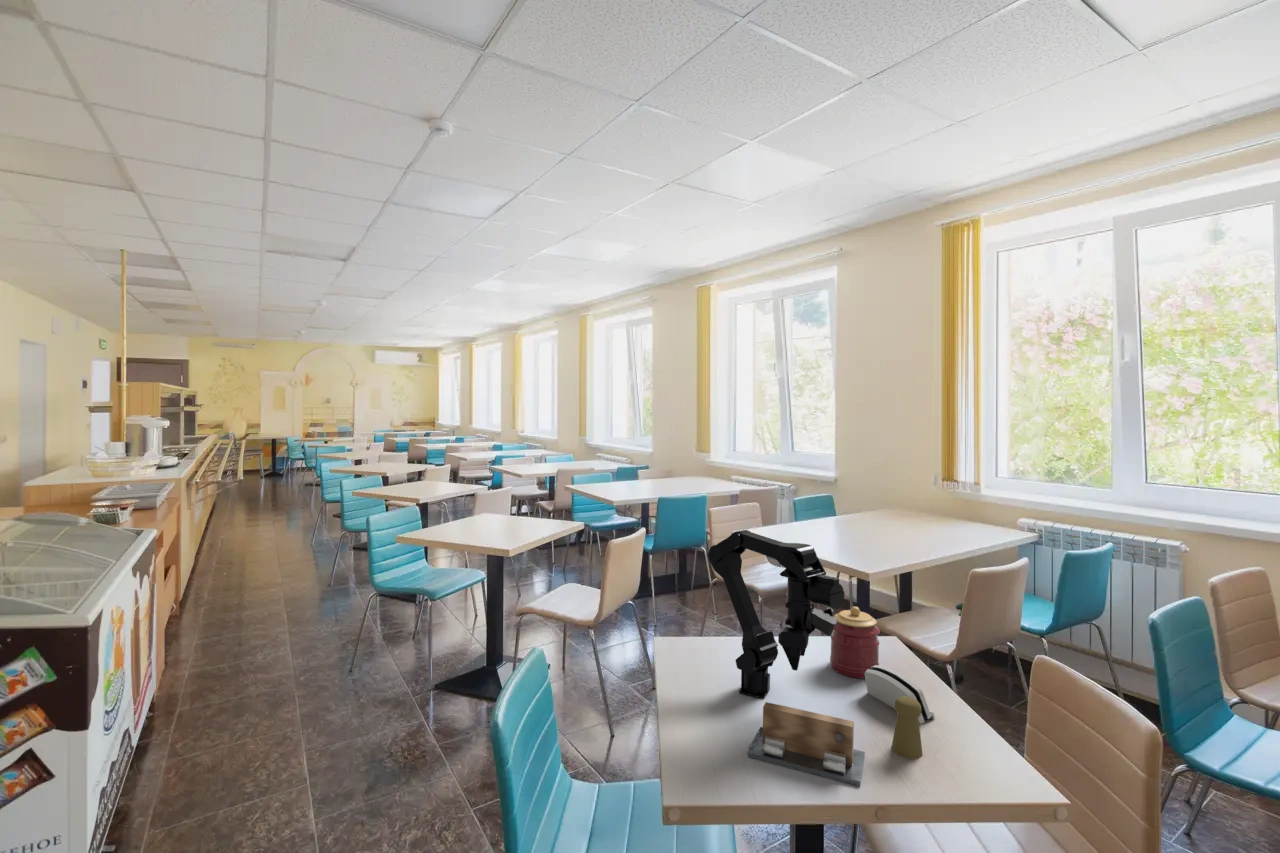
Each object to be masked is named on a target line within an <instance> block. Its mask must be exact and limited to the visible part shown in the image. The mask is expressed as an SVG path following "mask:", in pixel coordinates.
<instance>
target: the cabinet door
mask: <svg viewBox="0 0 1280 853" xmlns="http://www.w3.org/2000/svg"><path fill="white" fill-rule="evenodd" d="M854 724H855V721H853V720H851V719H849V720H848V719H845V718H839V717H836V716H831V715H827V714H823V713H818V712H812V711H809V710H804V709H799V708H795V707H790V706H787V705H786V706H785V705H782V704H776V703H773V702H767V701H766V702H765V703H764V704H763V708H762V727H763V744H765V737H766V735H767V736H771V737H775V738H779V739H783V740H785V750H788V751H792V752H796V753H800V754H804V755H808V756H812V757H816V758H820V759H824V753H825V750H828V751H832V752H836V753H841V754H845V755H846V765H848V766H852V763H853V749H854V734H855V733H854V732H855V731H854V728H855V725H854Z"/></svg>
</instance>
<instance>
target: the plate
mask: <svg viewBox="0 0 1280 853" xmlns="http://www.w3.org/2000/svg"><path fill="white" fill-rule="evenodd" d="M865 754H866V752H865V751H863V750H859V749H854V748H853V763H852V766H848V765H846V755H845V754H841V753H836V752H832V751H828V750H825V753H824V759H820V758H816V757H812V756H808V755H804V754H800V753H796V752H792V751H788V750H785V740H783V739H779V738H775V737H771V736H767V735H766V737H765V744H763V726H760V727H759V729H758V731H757V732H756V735H755V737H754V739H753V741H752V742H751V744H750V746H749V749H748V751H747V758H750V759H751V758H752V759H755V760H758V761H762V762H765V763H770V764H774V765H778V766H781V767H785V768H789V769H793V770H795V771H800V772H804V773H807V774H811V775H815V776H818V777H822V778H827V779H831V780H833V781H834V780H835V781H839V782H842V783H846V784H850V785H853V786H857V787H861V783H862V778H863V777H862V776H863V770H864V765H865V757H866V756H865Z"/></svg>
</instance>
